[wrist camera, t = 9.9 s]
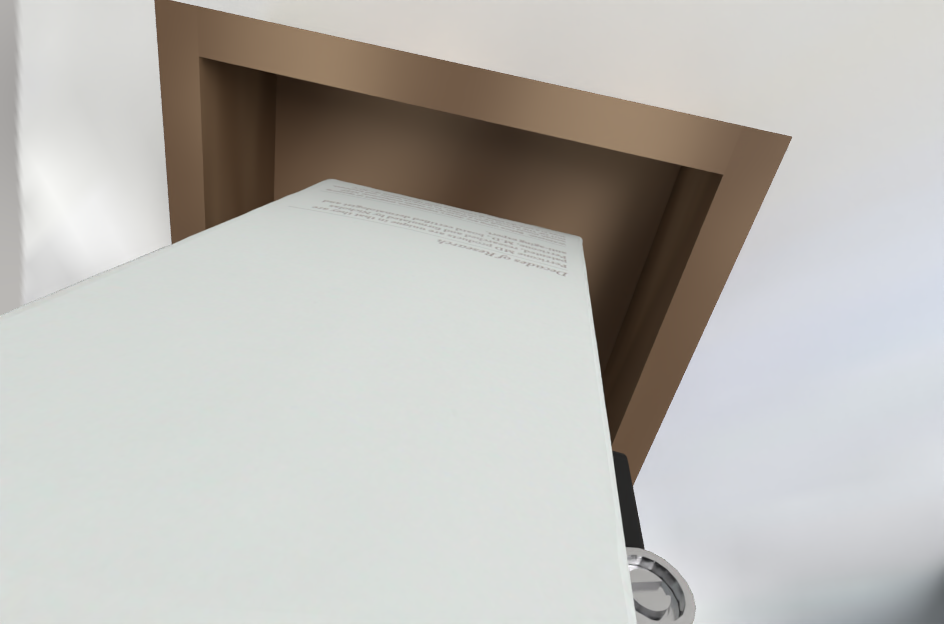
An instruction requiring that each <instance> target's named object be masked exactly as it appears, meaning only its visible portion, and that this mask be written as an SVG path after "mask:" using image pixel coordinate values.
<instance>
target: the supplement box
mask: <svg viewBox="0 0 944 624" xmlns="http://www.w3.org/2000/svg"><path fill="white" fill-rule="evenodd" d="M582 243H583V240H582V238H581V237H579V236H575V235H571V234H567V233H563V232H559V231H554V230H550V229H546V228H542V227H538V226H534V225H529V224H525V223H521V222H516V221H512V220H507V219H503V218H498V217H495V216H491V215H487V214H483V213H478V212H474V211H469V210H464V209H460V208H456V207H452V206H448V205H444V204H439V203H435V202H431V201H426V200H422V199H417V198H413V197H409V196H405V195H401V194H396V193H392V192H387V191H382V190H378V189H374V188H370V187H366V186H362V185H357V184H353V183H349V182H344V181H340V180H336V179H327V180H324V181H322V182H319V183H317V184H315V185H313V186H310V187H308V188H306V189H304V190H301V191H299V192H296V193H293V194H291V195H288V196H286V197H283V198H281V199H279V200H276V201H274V202H271V203H269V204H267V205H264V206H262V207H259V208H257V209H254V210H252V211H250V212H248V213H246V214H243V215H241V216H238V217H236V218H234V219H231V220H229V221H226V222H224V223H221V224H219V225H216V226H214V227H212V228H209V229H207V230H204V231H202V232H199V233H197V234H195V235H192V236H190V237H187V238H185V239H183V240H181V241H179V242H176V243H174V244H172V245H169V246H166V247H164V248H161V249H159V250H156V251H154V252H151V253H149V254H146V255H144V256H142V257H139V258H137V259H134V260H132V261H129V262H127V263H124V264H122V265H120V266H117V267H115V268H112V269H110V270H107V271H104V272H102V273H99V274H97V275H94V276H92V277H90V278H87V279H85V280H83V281H80V282H78V283H76V284H74V285H72V286H69V287H67V288H64V289H62V290H59V291H57V292H54V293H52V294H50V295H47V296H45V297H42V298H40V299H37V300H35V301H33V302H30V303H28V304H26V305H23V306H21V307H19V308H17V309H14V310H12V311H9V312H7V313H5V314H3V315H0V624H637V620H636V613H635V607H634V600H633V593H632V586H631V580H630V573H629V566H628V560H627V553H626V546H625V539H624V533H623V526H622V519H621V512H620V505H619V498H618V491H617V484H616V477H615V469H614V462H613V455H612V447H611V440H610V433H609V426H608V420H607V413H606V407H605V400H604V393H603V385H602V378H601V370H600V363H599V356H598V350H597V343H596V336H595V329H594V323H593V315H592V308H591V301H590V295H589V286H588V280H587V271H586V264H585V259H584V252H583V246H582Z"/></svg>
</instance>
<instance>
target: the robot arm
mask: <svg viewBox="0 0 944 624" xmlns="http://www.w3.org/2000/svg"><path fill="white" fill-rule="evenodd" d="M612 455H613V462H614V469H615V477H616V484H617V491H618V498H619V505H620V512H621V519H622V526H623V533H624V539H625V546H626V553H627V560H628V566H629V573H630V580H631V586H632V593H633V600H634V607H635V613H636V620H637V624H692V623H693V621H694V616H695V610H696V606H695V602H694V597H693V594H692V592H691V590H690V588H689V586H688V584H687V582H686V581H685V579H684V578H683V577H682V576H681V575H680V573H679V572H678V571H677V570H676V569H675V568H674V567H673V566H672V565H670V564H669V563H668V562H667V561H666V560H665V559H663V558H661V557H659V556H658V555H656V554H654V553H652V552H650V551H647V550H645V549H644V544H643V538H642V533H641V528H640V522H639V517H638V512H637V506H636V501H635V496H634V490H633V485H632V480H631V474H630V469H629V464H628V459H627V456H626V455H625V454H623V453H620V452H616V451H612Z"/></svg>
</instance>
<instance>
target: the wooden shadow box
mask: <svg viewBox="0 0 944 624" xmlns="http://www.w3.org/2000/svg"><path fill="white" fill-rule="evenodd" d="M155 14H156V28H157V42H158V56H159V71H160V85H161V99H162V113H163V127H164V141H165V155H166V169H167V184H168V198H169V212H170V226H171V240H172V244H174V243H176V242H179V241H181V240H183V239H185V238H187V237H190V236H192V235H195V234H197V233H199V232H202V231H204V230H207V229H209V228H212V227H214V226H216V225H219V224H221V223H224V222H226V221H229V220H231V219H234V218H236V217H238V216H241V215H243V214H246V213H248V212H250V211H252V210H254V209H257V208H259V207H262V206H264V205H267V204H269V203H271V202H274V201H276V200H279V199H281V198H283V197H286V196H288V195H291V194H293V193H296V192H299V191H301V190H304V189H306V188H308V187H310V186H313V185H315V184H317V183H319V182H322V181H324V180H327V179H336V180H340V181H344V182H349V183H353V184H357V185H362V186H366V187H370V188H374V189H378V190H382V191H387V192H392V193H396V194H401V195H405V196H409V197H413V198H417V199H422V200H426V201H431V202H435V203H439V204H444V205H448V206H452V207H456V208H460V209H464V210H469V211H474V212H478V213H483V214H487V215H491V216H495V217H498V218H503V219H507V220H512V221H516V222H521V223H525V224H529V225H534V226H538V227H542V228H546V229H550V230H554V231H559V232H563V233H567V234H571V235H575V236H579V237H581V238H582V240H583V243H582V246H583V252H584V259H585V264H586V271H587V280H588V286H589V295H590V301H591V308H592V315H593V323H594V329H595V336H596V343H597V350H598V356H599V363H600V370H601V378H602V385H603V393H604V400H605V407H606V413H607V420H608V426H609V433H610V440H611V447H612V451H616V452H620V453H623V454H625V455H626V456H627V459H628V464H629V469H630V474H631V480H632V485H634V482H635V480H636V478H637V476H638V474H639V471H640V469H641V467H642V465H643V463H644V461H645V458H646V456H647V454H648V452H649V450H650V447H651V445H652V443H653V441H654V439H655V436H656V434H657V432H658V430H659V428H660V425H661V423H662V421H663V419H664V417H665V415H666V412H667V410H668V408H669V406H670V404H671V401H672V399H673V397H674V395H675V393H676V390H677V388H678V386H679V384H680V382H681V380H682V377H683V375H684V373H685V371H686V369H687V366H688V364H689V362H690V360H691V358H692V355H693V353H694V351H695V349H696V347H697V345H698V342H699V340H700V338H701V336H702V334H703V331H704V329H705V327H706V325H707V323H708V320H709V318H710V316H711V314H712V312H713V310H714V307H715V305H716V303H717V301H718V299H719V296H720V294H721V292H722V290H723V288H724V285H725V283H726V281H727V279H728V277H729V274H730V272H731V270H732V268H733V266H734V264H735V261H736V259H737V257H738V255H739V253H740V250H741V248H742V246H743V244H744V242H745V239H746V237H747V235H748V233H749V231H750V229H751V226H752V224H753V222H754V220H755V218H756V215H757V213H758V211H759V209H760V207H761V204H762V202H763V200H764V198H765V196H766V194H767V191H768V189H769V187H770V185H771V183H772V180H773V178H774V176H775V174H776V172H777V169H778V167H779V165H780V163H781V161H782V158H783V156H784V154H785V152H786V150H787V148H788V145H789V143H790V141H791V139H792V137H791V136H786V135H782V134H777V133H773V132H768V131H764V130H759V129H755V128H750V127H745V126H741V125H736V124H732V123H727V122H723V121H718V120H714V119H709V118H704V117H700V116H695V115H691V114H686V113H682V112H677V111H673V110H668V109H663V108H659V107H654V106H650V105H645V104H641V103H636V102H632V101H627V100H622V99H618V98H613V97H609V96H604V95H600V94H595V93H591V92H586V91H581V90H577V89H572V88H568V87H563V86H559V85H554V84H550V83H545V82H540V81H536V80H531V79H527V78H522V77H518V76H513V75H509V74H504V73H499V72H495V71H490V70H486V69H481V68H477V67H472V66H468V65H463V64H458V63H454V62H449V61H445V60H440V59H436V58H431V57H427V56H422V55H417V54H413V53H408V52H404V51H399V50H395V49H390V48H386V47H381V46H376V45H372V44H367V43H363V42H358V41H354V40H349V39H345V38H340V37H335V36H331V35H326V34H322V33H317V32H313V31H308V30H304V29H299V28H294V27H290V26H285V25H281V24H276V23H272V22H267V21H263V20H258V19H253V18H249V17H244V16H240V15H235V14H231V13H226V12H222V11H217V10H213V9H208V8H203V7H199V6H194V5H190V4H185V3H181V2H176V1H172V0H155Z"/></svg>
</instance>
